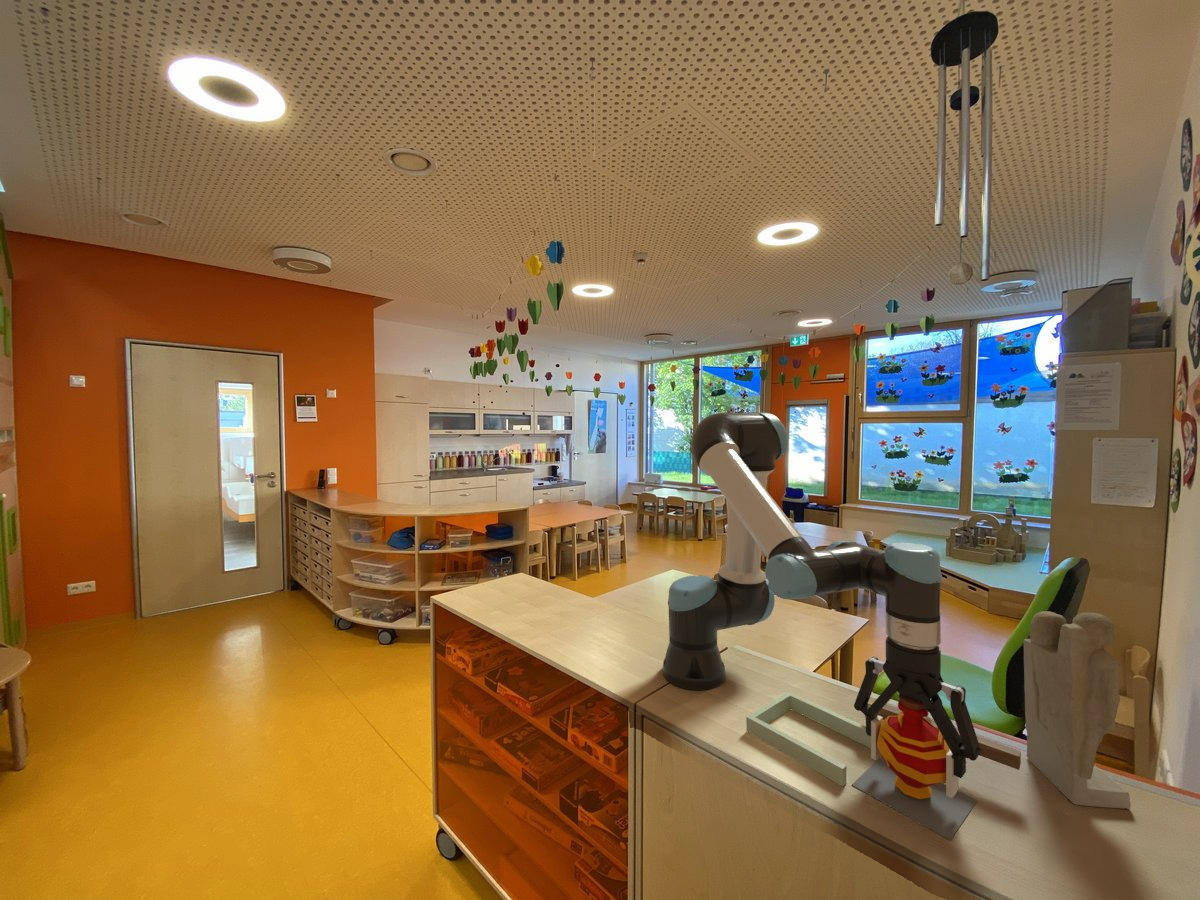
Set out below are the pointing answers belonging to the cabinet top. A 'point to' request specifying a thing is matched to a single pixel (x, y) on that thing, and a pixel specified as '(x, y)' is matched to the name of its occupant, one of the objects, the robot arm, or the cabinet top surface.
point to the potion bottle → (913, 749)
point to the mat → (917, 800)
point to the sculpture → (1072, 704)
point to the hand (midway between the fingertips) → (912, 773)
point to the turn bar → (988, 747)
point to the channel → (796, 748)
